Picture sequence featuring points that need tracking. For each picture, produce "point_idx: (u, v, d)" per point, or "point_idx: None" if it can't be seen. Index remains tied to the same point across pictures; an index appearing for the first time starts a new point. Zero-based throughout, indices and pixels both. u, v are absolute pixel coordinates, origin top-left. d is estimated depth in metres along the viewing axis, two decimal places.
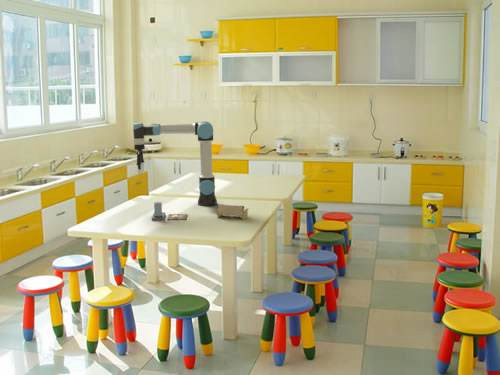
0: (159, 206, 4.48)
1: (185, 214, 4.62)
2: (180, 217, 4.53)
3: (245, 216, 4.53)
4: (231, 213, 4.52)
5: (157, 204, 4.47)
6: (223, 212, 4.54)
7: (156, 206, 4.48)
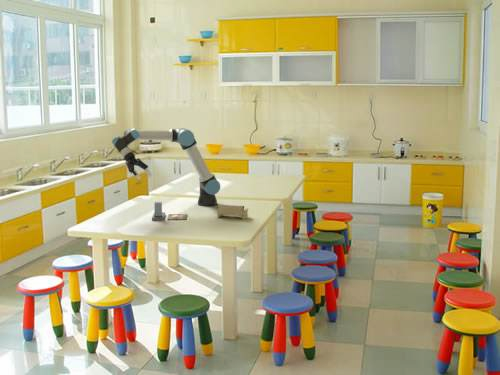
0: (159, 206, 4.48)
1: (185, 214, 4.62)
2: (180, 217, 4.53)
3: (245, 216, 4.53)
4: (231, 213, 4.52)
5: (157, 204, 4.48)
6: (224, 212, 4.53)
7: (156, 206, 4.48)
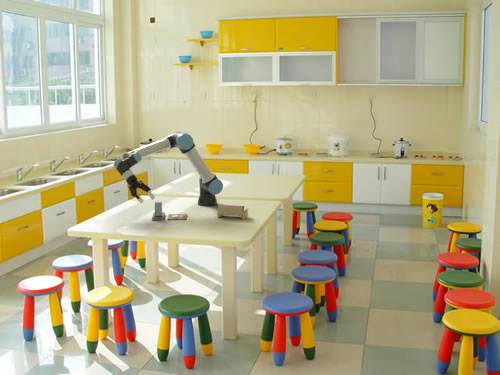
0: (159, 206, 4.49)
1: (185, 214, 4.62)
2: (180, 217, 4.53)
3: (245, 216, 4.53)
4: (231, 213, 4.52)
5: (157, 204, 4.48)
6: (224, 212, 4.54)
7: (156, 206, 4.48)
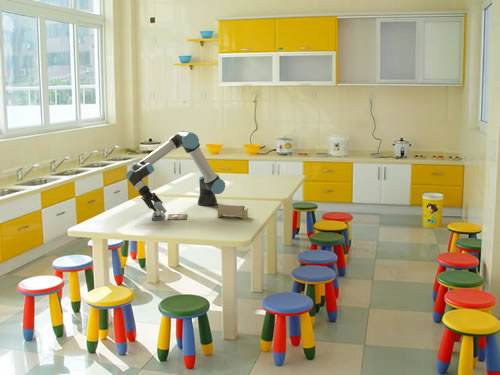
0: (159, 206, 4.48)
1: (185, 214, 4.62)
2: (180, 217, 4.53)
3: (245, 216, 4.53)
4: (231, 213, 4.52)
5: (157, 204, 4.47)
6: (224, 212, 4.53)
7: (156, 206, 4.48)
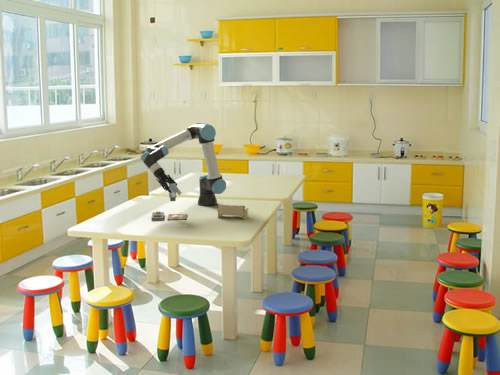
0: (174, 188, 4.49)
1: (185, 214, 4.62)
2: (180, 217, 4.53)
3: (246, 216, 4.54)
4: (232, 213, 4.52)
5: (172, 186, 4.49)
6: (224, 212, 4.53)
7: (171, 188, 4.49)
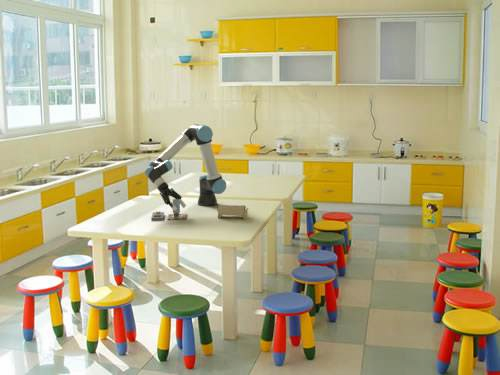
0: (177, 203, 4.53)
1: (185, 214, 4.62)
2: (180, 217, 4.53)
3: (246, 216, 4.54)
4: (232, 213, 4.52)
5: (175, 201, 4.52)
6: (224, 213, 4.53)
7: (174, 203, 4.53)
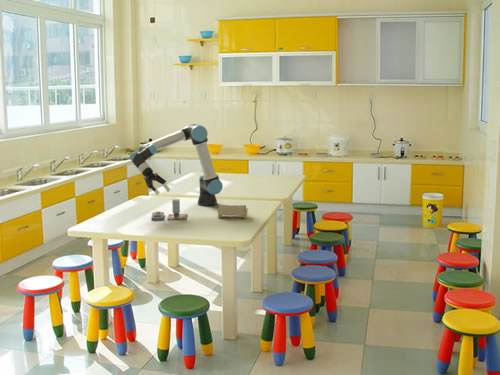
0: (177, 203, 4.53)
1: (185, 214, 4.62)
2: (180, 217, 4.53)
3: (246, 215, 4.55)
4: (233, 213, 4.52)
5: (175, 201, 4.52)
6: (225, 213, 4.52)
7: (174, 203, 4.52)
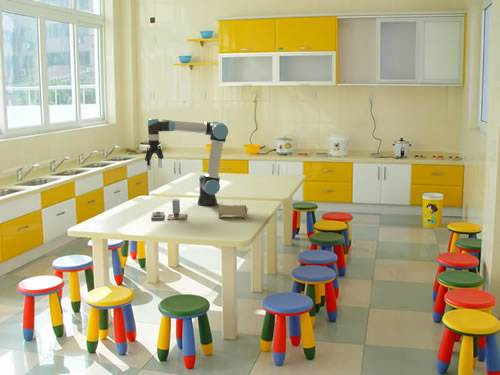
0: (177, 203, 4.53)
1: (185, 214, 4.62)
2: (180, 217, 4.53)
3: (246, 215, 4.55)
4: (233, 213, 4.52)
5: (175, 201, 4.52)
6: (225, 213, 4.52)
7: (174, 203, 4.52)
